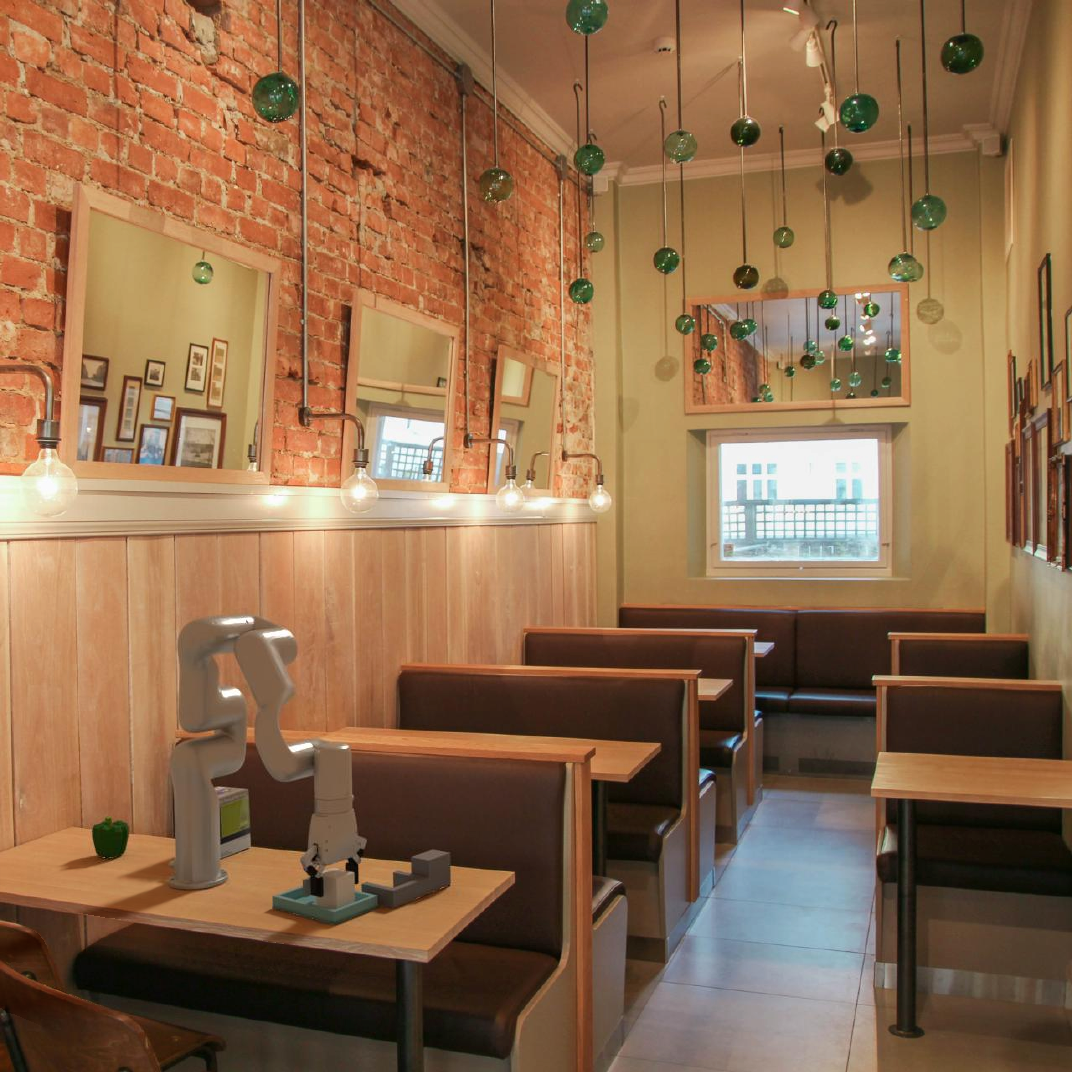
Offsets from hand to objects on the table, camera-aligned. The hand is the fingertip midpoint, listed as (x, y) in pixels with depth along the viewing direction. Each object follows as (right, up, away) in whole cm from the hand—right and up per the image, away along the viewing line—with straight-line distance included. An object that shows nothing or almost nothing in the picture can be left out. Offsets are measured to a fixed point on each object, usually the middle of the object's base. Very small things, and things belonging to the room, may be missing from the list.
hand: (334, 889), depth 225 cm
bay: (+13, -4, +11) cm, 18 cm away
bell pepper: (-62, -6, +42) cm, 75 cm away
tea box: (-37, -5, +43) cm, 57 cm away
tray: (-2, -4, +2) cm, 5 cm away
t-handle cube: (-2, -4, +1) cm, 4 cm away
